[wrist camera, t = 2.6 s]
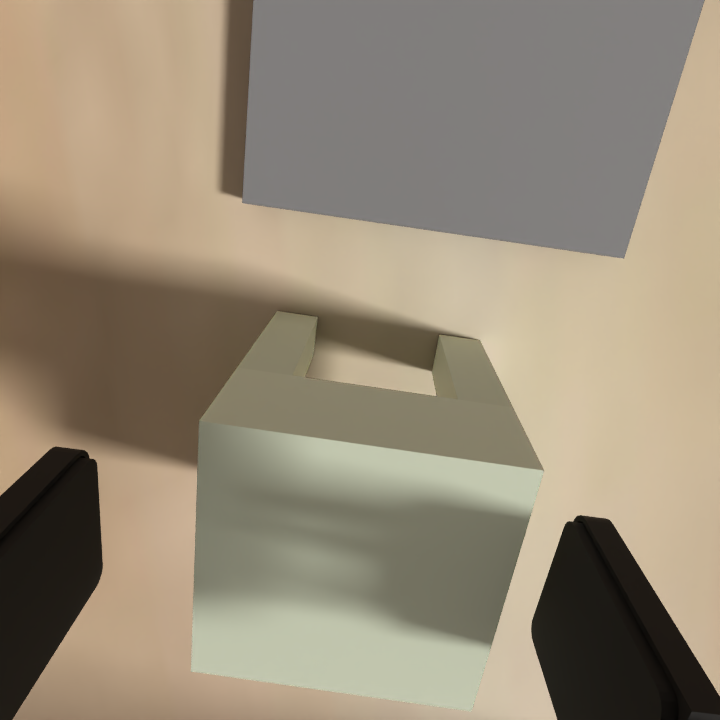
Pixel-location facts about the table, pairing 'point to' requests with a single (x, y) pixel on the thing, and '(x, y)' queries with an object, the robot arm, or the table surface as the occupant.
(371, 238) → the table surface
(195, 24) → the table surface
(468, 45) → the felt pad
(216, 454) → the notched sage block
